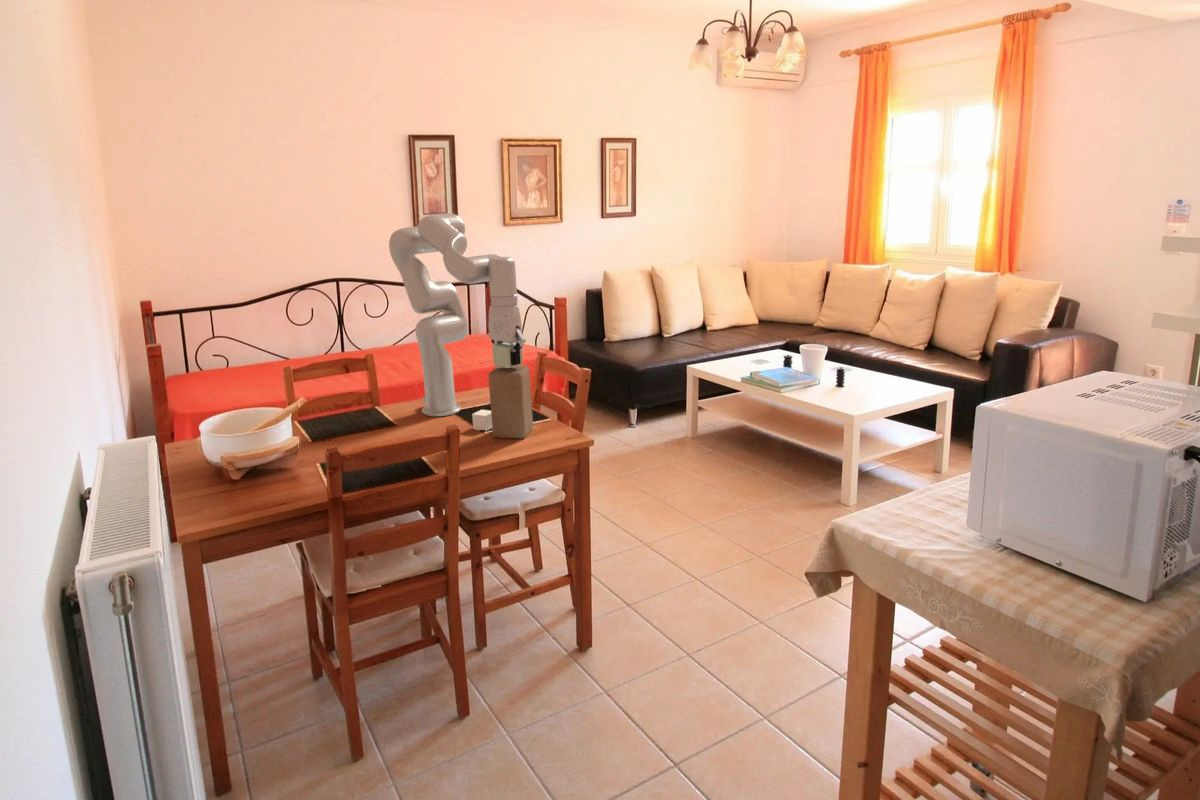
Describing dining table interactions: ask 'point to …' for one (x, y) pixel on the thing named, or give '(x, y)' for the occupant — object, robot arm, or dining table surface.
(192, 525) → the dining table surface
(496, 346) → the sage cube
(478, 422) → the cream cube
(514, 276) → the robot arm
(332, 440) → the dining table surface
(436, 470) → the dining table surface
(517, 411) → the block
